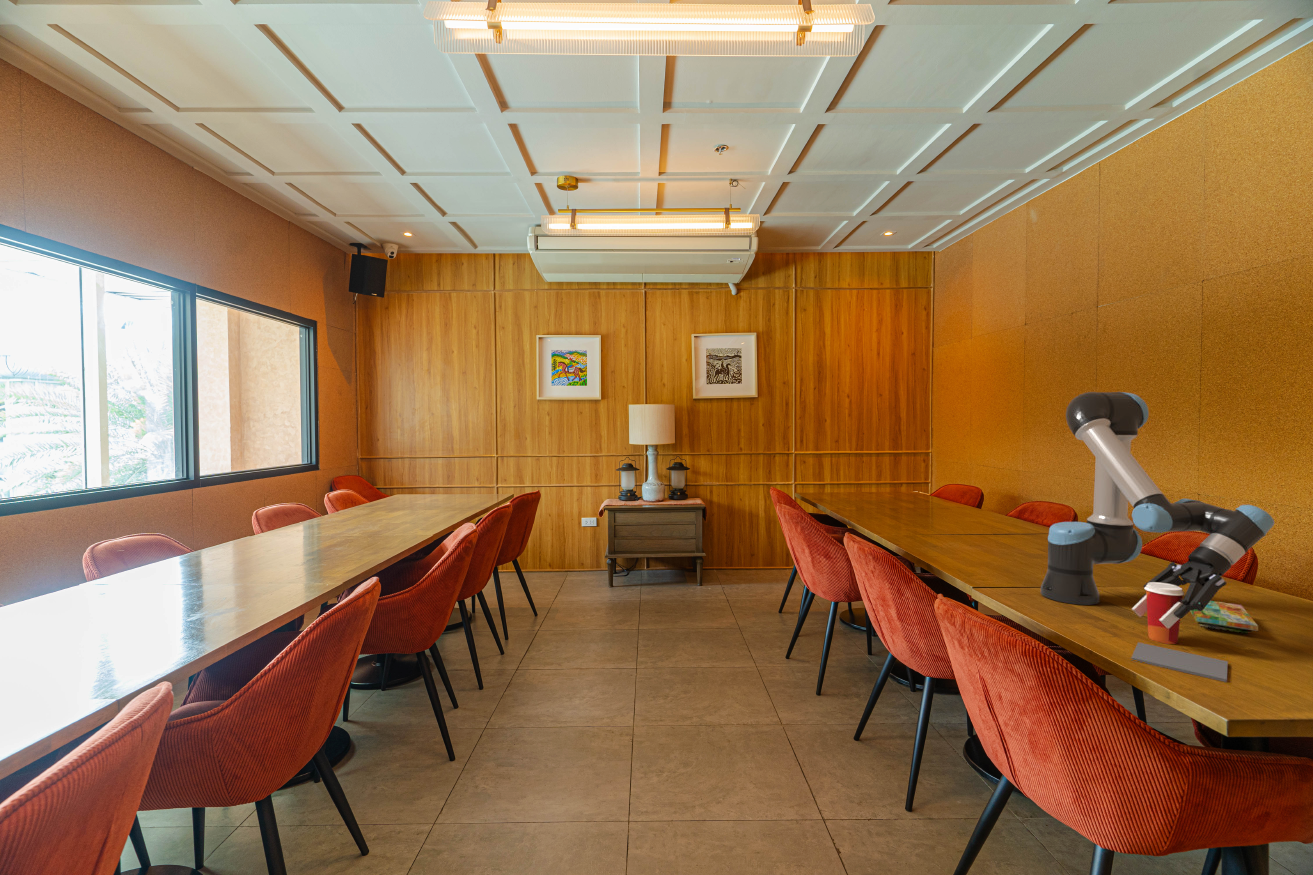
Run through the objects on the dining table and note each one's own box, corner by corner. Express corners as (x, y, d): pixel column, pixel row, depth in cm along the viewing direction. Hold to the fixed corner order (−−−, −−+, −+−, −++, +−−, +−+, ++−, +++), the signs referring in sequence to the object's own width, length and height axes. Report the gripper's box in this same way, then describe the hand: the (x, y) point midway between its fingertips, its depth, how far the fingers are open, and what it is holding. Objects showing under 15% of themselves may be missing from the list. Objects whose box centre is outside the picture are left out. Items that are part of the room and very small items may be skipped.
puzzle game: (1241, 602, 165) (1258, 622, 149) (1240, 618, 165) (1257, 640, 149) (1185, 594, 172) (1196, 613, 156) (1185, 610, 172) (1196, 630, 156)
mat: (1131, 659, 136) (1131, 657, 136) (1138, 644, 146) (1138, 642, 146) (1226, 682, 125) (1226, 679, 125) (1227, 663, 134) (1227, 661, 134)
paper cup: (1173, 636, 151) (1175, 583, 151) (1189, 647, 144) (1191, 591, 143) (1137, 632, 154) (1138, 580, 153) (1150, 643, 146) (1152, 588, 146)
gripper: (1267, 577, 138) (1197, 644, 138) (1188, 556, 158) (1127, 614, 159) (1245, 554, 138) (1175, 622, 138) (1169, 536, 158) (1108, 595, 159)
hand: (1149, 618), depth 149 cm, fingers closed on paper cup, 8 cm apart
